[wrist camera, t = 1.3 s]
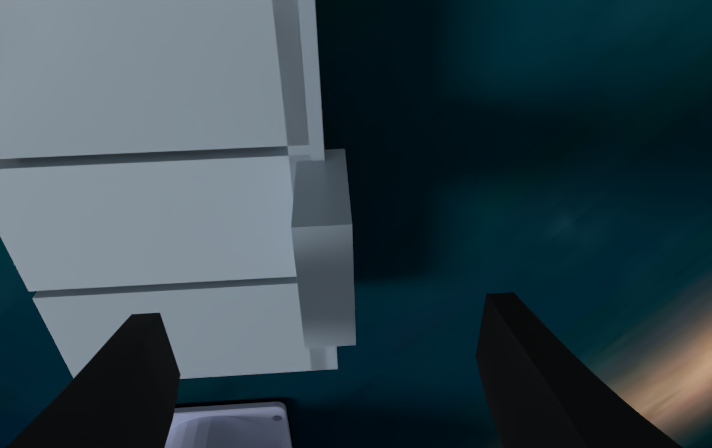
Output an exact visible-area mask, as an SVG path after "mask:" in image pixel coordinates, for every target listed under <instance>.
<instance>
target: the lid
mask: <svg viewBox="0 0 712 448" xmlns="http://www.w3.org/2000/svg"><path fill="white" fill-rule="evenodd" d="M0 237H1V239H2V241H3V243H4V244H5V246H6V248H7V250H8V252H9V254H10V256H11V258H12V260H13V262H14V264H15V266H16V268H17V270H18V272H19V273H20V275H21V277H22V279H23V281H24V283H25V285H26V287H27V289H28V291H37V292H36V294H35V295H34V297H33V298H32V299H33V301H34V302H35V304H36V306H37V308H38V310H39V312H40V314H41V316H42V318H43V320H44V322H45V324H46V326H47V328H48V330H49V331H50V333H51V335H52V337H53V339H54V341H55V343H56V345H57V347H58V349H59V351H60V353H61V355H62V357H63V359H64V360H65V362H66V364H67V366H68V368H69V370H70V372H71V374H72V376H73V378H74V377H75V376H76V375H77V374H78V373H79V372H80V371H81V370H82V369H83V368H84V367H85V365H86V364H87V363H88V362H89V361H90V360H91V359H92V358H93V357H94V355H95V354H96V353H97V352H98V351H99V350H100V349H101V348H102V346H103V345H104V344H105V343H106V342H107V341H108V340H109V339H110V337H111V336H112V335H113V334H114V333H115V332H116V331H117V330H118V329H119V327H120V326H121V325H122V324H123V323H124V322H125V321H126V320H127V319H128V318H129V317H130V316H131V314H144V313H160V314H161V317H162V320H163V323H164V326H165V329H166V332H167V335H168V338H169V341H170V344H171V347H172V350H173V353H174V356H175V359H176V362H177V365H178V368H179V371H180V374H181V375H180V379H185V378H201V377H217V376H232V375H248V374H264V373H280V372H296V371H312V370H328V369H338V367H337V346H347V345H356V335H355V302H354V268H353V235H352V217H351V207H350V197H349V187H348V177H347V167H346V157H345V149H330V150H324V134H323V118H322V102H321V86H320V69H319V53H318V37H317V20H316V4H315V0H0Z"/></svg>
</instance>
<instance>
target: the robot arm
mask: <svg viewBox="0 0 712 448" xmlns="http://www.w3.org/2000/svg"><path fill="white" fill-rule="evenodd" d="M476 359H477V364H478V368H479V372H480V377H481V381H482V385H483V389H484V393H485V397H486V401H487V403H488V406H489V409H490V412H491V415H492V417H493V420H494V423H495V426H496V428H497V431H498V434H499V437H500V439H501V442H502V445H503V447H504V448H683V447H681V446H680V445H679V444H677V443H676V442H675V441H673V440H672V439H671V438H670V437H668V436H667V435H666V434H664V433H663V432H662V431H661V430H659V429H658V428H657V427H655V426H654V425H653V424H652V423H650V422H649V421H648V420H646V419H645V418H644V417H643V416H641V415H640V414H639V413H638V412H637V411H635V410H634V409H633V408H632V407H631V406H629V405H628V404H627V403H626V402H625V401H624V400H622V399H621V398H620V397H619V396H618V395H617V394H616V393H615V392H613V391H612V390H611V389H610V388H609V387H608V386H607V385H606V384H604V383H603V382H602V381H601V380H600V379H599V378H598V377H597V376H596V375H595V374H594V373H593V372H591V371H590V370H589V369H588V368H587V367H586V366H585V365H584V364H583V363H582V362H581V361H580V360H579V359H578V358H577V357H576V356H575V355H574V354H573V353H572V352H571V351H570V350H569V349H568V348H567V347H566V346H565V345H564V344H563V343H562V342H561V341H560V340H559V339H558V338H557V337H556V336H555V335H554V334H553V333H552V332H551V331H550V330H549V329H548V328H547V327H546V326H545V325H544V324H543V323H542V322H541V321H540V320H539V318H538V317H537V316H536V315H535V314H534V313H533V312H532V311H531V310H530V309H529V308H528V307H527V306H526V305H525V304H524V303H523V302H522V301H521V300H520V298H519V297H518V296H517V295H516V294H514V293H513V292H512V293H494V294H486V299H485V305H484V311H483V317H482V323H481V329H480V335H479V340H478V346H477V352H476ZM180 375H181V374H180V371H179V368H178V365H177V362H176V359H175V356H174V353H173V350H172V347H171V344H170V341H169V338H168V335H167V332H166V329H165V326H164V323H163V320H162V317H161V314H160V313H144V314H131V316H130V317H129V318H128V319H127V320H126V321H125V322H124V323H123V324H122V325H121V326H120V327H119V329H118V330H117V331H116V332H115V333H114V334H113V335H112V336H111V337H110V339H109V340H108V341H107V342H106V343H105V344H104V345H103V346H102V348H101V349H100V350H99V351H98V352H97V353H96V354H95V355H94V357H93V358H92V359H91V360H90V361H89V362H88V363H87V364H86V365H85V367H84V368H83V369H82V370H81V371H80V372H79V373H78V374H77V375H76V376H75V377H74V379H73V380H72V381H71V382H70V383H69V384H68V385H67V386H66V387H65V388H64V389H63V390H62V391H61V393H60V394H59V395H58V396H57V397H56V398H55V399H54V400H53V401H52V402H51V403H50V404H49V405H48V406H47V407H46V408H45V409H44V410H43V411H42V412H41V413H40V414H39V415H38V416H37V417H36V418H35V419H34V420H33V421H32V422H31V423H30V424H29V425H28V426H27V427H26V428H25V429H24V430H23V431H22V432H21V433H20V434H19V435H18V436H17V437H16V438H15V439H14V440H13V441H12V442H11V443H10V444H9V445H8V446H7V447H6V448H292V443H291V437H290V430H289V424H288V418H287V412H286V406H285V405H284V404H283V403H281V402H262V403H246V404H231V405H216V406H200V407H185V408H175V405H176V400H177V394H178V387H179V381H180Z"/></svg>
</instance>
